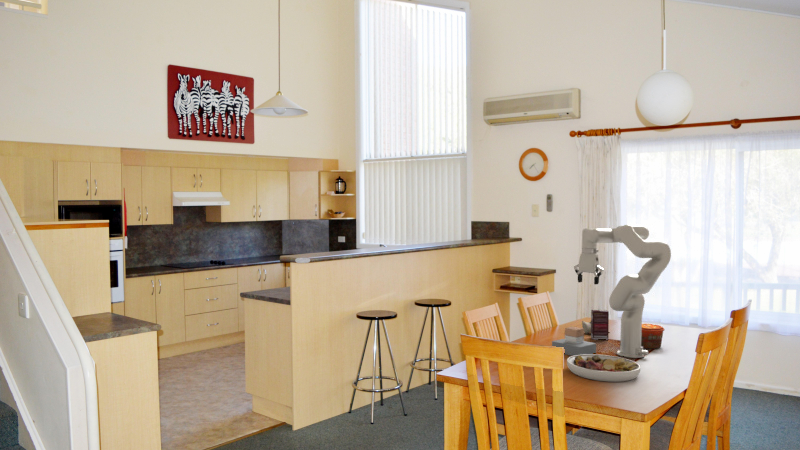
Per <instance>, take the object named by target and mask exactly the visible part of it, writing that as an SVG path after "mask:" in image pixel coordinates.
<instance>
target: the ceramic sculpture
mask: <svg viewBox="0 0 800 450" xmlns="http://www.w3.org/2000/svg"><path fill="white" fill-rule="evenodd" d="M581 323H582V324H581V325H582V326H581V328H583V329H584V334H586V335H588V334H589V333H590V334H591V320H590V322H589V321H588V322H586V321H584V320H582V321H581ZM608 334H611V332H609V333H608Z"/></svg>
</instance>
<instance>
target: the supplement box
mask: <svg viewBox="0 0 800 450" xmlns="http://www.w3.org/2000/svg"><path fill="white" fill-rule="evenodd" d="M590 313H591V314H590V316H591V318H590V321H591V333H590V338H591V339H592V340H598V339H606V340H605V341H608V340H609V334H610V333H609V329H610V327H609V317H610V316H609V315H610V313H609V310H606V309H591V312H590ZM598 341H599V340H598Z"/></svg>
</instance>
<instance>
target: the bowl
mask: <svg viewBox="0 0 800 450" xmlns="http://www.w3.org/2000/svg"><path fill="white" fill-rule="evenodd" d="M566 365H567V368H568V369H569V371H570V372H571V373H573V374H574V375H576V376H578V377H581V378H584V379H588V380H592V381H593V380H594V381H599V382H609V383H610V382H611V383H618V382H619V383H621V382H627V381H631V380H634V379H636V378H637V377H638V376H639V375H640V373H641V365H640V364H639V363H638V362H636V361H635V360H631V359H627V358H626V357H621V356H614V355H608V354H607V355H606V354H598V353H596V354H583V355H575V356H571V355H570V356H569V357H567V359H566Z"/></svg>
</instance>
